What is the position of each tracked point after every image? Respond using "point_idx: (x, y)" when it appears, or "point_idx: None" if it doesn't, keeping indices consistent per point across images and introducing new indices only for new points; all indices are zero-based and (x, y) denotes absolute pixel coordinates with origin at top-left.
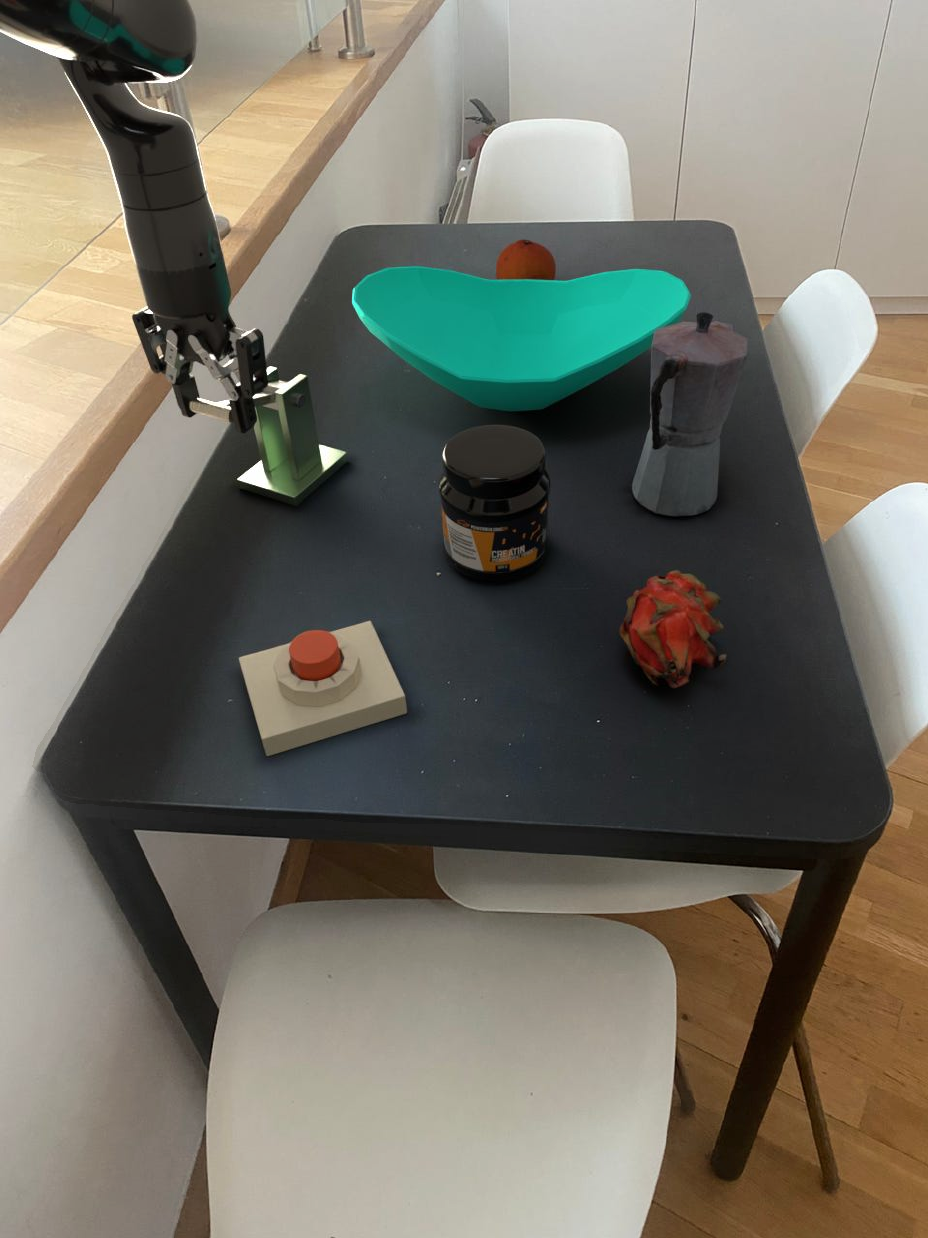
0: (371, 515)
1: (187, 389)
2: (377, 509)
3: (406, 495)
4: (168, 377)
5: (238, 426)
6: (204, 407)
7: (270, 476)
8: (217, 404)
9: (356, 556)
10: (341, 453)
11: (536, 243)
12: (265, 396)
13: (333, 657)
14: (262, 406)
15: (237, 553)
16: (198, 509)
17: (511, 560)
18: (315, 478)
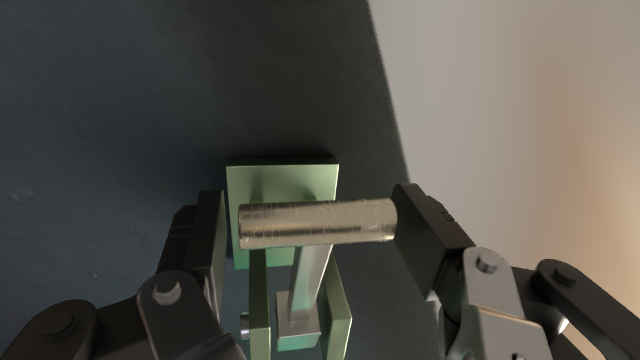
0: (106, 188)
1: (423, 250)
2: (111, 202)
3: (102, 241)
4: (493, 260)
5: (203, 199)
6: (339, 216)
7: (295, 189)
8: (302, 240)
9: (29, 95)
10: (238, 265)
11: None
12: (289, 310)
13: None
14: (320, 286)
15: (224, 12)
16: (363, 89)
17: None
18: (231, 212)
